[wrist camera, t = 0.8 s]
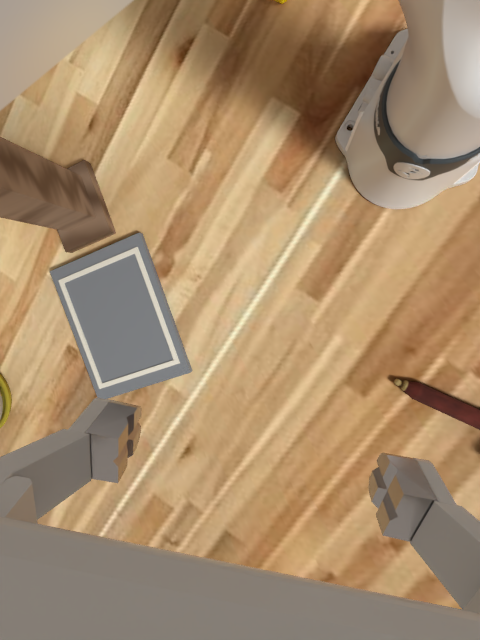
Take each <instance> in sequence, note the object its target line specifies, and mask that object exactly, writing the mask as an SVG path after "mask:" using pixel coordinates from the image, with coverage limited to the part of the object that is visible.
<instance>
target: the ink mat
mask: <svg viewBox="0 0 480 640" xmlns="http://www.w3.org/2000/svg"><path fill="white" fill-rule="evenodd" d="M50 273H51V276H52V279H53V281H54V284H55V287H56V289H57V292H58V295H59V297H60V300H61V302H62V305H63V308H64V310H65V313H66V316H67V318H68V321H69V323H70V326H71V329H72V331H73V334H74V337H75V339H76V342H77V345H78V347H79V350H80V352H81V355H82V358H83V360H84V363H85V366H86V368H87V371H88V373H89V376H90V379H91V381H92V384H93V387H94V389H95V392H96V394H97V397H98V398H103V399H107V398H111V397H114V396H117V395H120V394H123V393H126V392H130V391H133V390H136V389H139V388H142V387H146V386H149V385H152V384H155V383H158V382H162V381H165V380H168V379H171V378H174V377H178V376H181V375H184V374H187V373H190V372H191V371H192V369H191V366H190V363H189V360H188V358H187V355H186V352H185V349H184V347H183V344H182V341H181V338H180V336H179V333H178V330H177V327H176V325H175V322H174V319H173V316H172V314H171V311H170V308H169V305H168V303H167V300H166V297H165V294H164V292H163V289H162V286H161V283H160V281H159V278H158V275H157V272H156V270H155V267H154V264H153V261H152V259H151V256H150V253H149V250H148V248H147V245H146V242H145V239H144V237H143V234H142V233H137V234H135V235H132V236H130V237H128V238H126V239H123V240H121V241H119V242H116V243H114V244H112V245H109V246H107V247H105V248H103V249H100V250H98V251H96V252H93V253H91V254H89V255H87V256H84V257H82V258H80V259H77V260H75V261H73V262H70V263H68V264H66V265H64V266H61V267H59V268H57V269H54V270H52V271H50Z"/></svg>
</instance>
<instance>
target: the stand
mask: <svg viewBox="0 0 480 640" xmlns="http://www.w3.org/2000/svg"><path fill="white" fill-rule="evenodd" d="M0 217H1V218H6V219H11V220H15V221H20V222H25V223H29V224H34V225H39V226H43V227H48V228H53V229H57V230H58V233H59V236H60V238H61V241H62V243H63V246H64V249H65V251H66V252H70V253H73V252H75V251H77V250H79V249H82V248H84V247H86V246H88V245H91V244H93V243H95V242H97V241H100V240H102V239H104V238H106V237H109V236H111V235H113V234H115V233H116V232H115V229H114V226H113V224H112V221H111V218H110V215H109V213H108V210H107V207H106V205H105V202H104V199H103V196H102V194H101V191H100V188H99V185H98V183H97V180H96V177H95V175H94V172H93V169H92V166H91V164H90V163H89V162H87V161H85V160H83V161H81V162H79V163H77V164H75V165H73V166H72V167H70V168H68V169H66V168H64V167H62V166H60V165H57V164H55V163H53V162H51V161H49V160H47V159H45V158H43V157H41V156H39V155H37V154H35V153H33V152H30V151H28V150H26V149H24V148H22V147H20V146H18V145H16V144H14V143H12V142H10V141H8V140H6V139H3V138H1V137H0Z"/></svg>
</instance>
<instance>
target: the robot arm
mask: <svg viewBox="0 0 480 640" xmlns="http://www.w3.org/2000/svg"><path fill="white" fill-rule="evenodd" d="M398 1H399V3H400V5H401V8H402V11H403V13H404V16H405V20H406V23H407V28H408V29H405V30H402V31H400V32H398V33H397V34H396V36H395V37H394V39H393V40H392V42H391V43H390V45H389V47H388V48H387V50H386V52H385V53H384V55H382V56H381V57H380V59H379V61H378V63H377V65H376V67H375V69H374V71H373V73H372V75H371V77H370V78H369V80H368V82H367V83H366V85H365V87H364V88H363V90H362V92H361V93H360V95H359V97H358V98H357V100H356V102H355V103H354V105H353V107H352V108H351V110H350V112H349V113H348V115H347V117H346V118H345V120H344V122H343V123H342V125H341V127H340V128H339V130H338V132H337V134H336V137H335V141H336V144H337V146H338V147H339V149H340V150H341V152H342V153H343V154H344V156H345V157H346V160H347V164H348V170H349V174H350V177H351V180H352V182H353V184H354V186H355V187H356V189H357V190H358V191H359V192H360V193H361V195H362V196H364V197H365V198H366V199H367V200H369V201H370V202H372V203H374V204H376V205H378V206H381V207H385V208H390V209H406V208H411V207H415V206H418V205H421V204H423V203H425V202H427V201H429V200H431V199H432V198H434V197H435V196H437V195H438V194H439V193H441V192H442V191H444V190H446V189H448V188H451V187H455V186H459V185H462V184H464V183H467V182H468V181H470V180H471V179H472V178H473V177H474V176H475V175H476V172H477V169H478V165H479V163H480V0H398ZM347 127H352V130H351V131H348V130H347ZM140 418H141V407H140V406H137V405H132V404H127V403H123V402H118V401H114V400H112V401H111V400H107V399H103V398H95V399H94V400H93V401H92V402H91V403H90V404H89V405H88V407H87V408H86V409H85V410H84V411H83V413H82V414H81V415H80V416H79V417H78V418H77V420H76V421H75V422H74V423H73V424H72V426H71V427H70V428H69V429H68V430H66V429H62V430H60V431H58V432H56V433H53V434H51V435H49V436H47V437H44V438H42V439H40V440H38V441H35V442H33V443H31V444H29V445H26V446H24V447H22V448H20V449H18V450H15V451H13V452H11V453H9V454H6V455H4V456H2V457H0V640H480V521H479V520H478V519H476V518H475V517H474V516H473V515H472V514H470V513H469V512H468V511H467V510H466V509H464V508H463V507H462V506H458V505H456V503H455V501H454V500H453V498H452V496H451V494H450V493H449V491H448V489H447V488H446V486H445V484H444V482H443V481H442V479H441V477H440V476H439V474H438V472H437V470H436V469H435V467H434V465H433V464H432V463H431V462H430V461H428V460H422V459H416V458H409V457H404V456H398V455H393V454H387V453H381V454H380V455H379V457H378V459H377V463H378V466H379V467H378V468H376V469H375V470H373V471H372V473H371V476H370V478H369V494H370V498H371V501H372V502H373V503H374V505H375V506H376V507H377V508H378V511H377V513H376V517H377V520H378V523H379V526H380V529H381V532H382V535H383V536H388V537H392V538H396V539H401V540H405V541H410V544H411V545H412V546H413V547H414V549H415V550H416V551H417V553H418V554H419V555H420V556H421V558H422V559H423V560H424V561H425V563H426V564H427V565H428V566H429V568H430V569H431V570H432V571H433V573H434V574H435V575H436V577H437V578H438V579H439V580H440V582H441V583H442V584H443V585H444V587H445V588H446V589H447V590H448V592H449V593H450V594H451V595H452V597H453V598H454V599H455V601H456V602H457V603H458V604H459V606H460V607H461V608H462V609H463V610H461V609H456V608H452V607H447V606H442V605H437V604H432V603H427V602H422V601H417V600H412V599H407V598H402V597H397V596H392V595H387V594H382V593H377V592H372V591H367V590H362V589H357V588H352V587H347V586H342V585H337V584H333V583H328V582H323V581H318V580H313V579H308V578H303V577H298V576H293V575H288V574H283V573H278V572H273V571H268V570H263V569H258V568H253V567H248V566H243V565H238V564H234V563H229V562H224V561H219V560H214V559H209V558H204V557H199V556H194V555H189V554H184V553H179V552H174V551H169V550H164V549H159V548H154V547H149V546H145V545H140V544H135V543H130V542H125V541H120V540H115V539H110V538H105V537H100V536H95V535H90V534H85V533H80V532H75V531H70V530H65V529H60V528H55V527H50V526H45V525H41V524H38V523H37V520H38V519H39V518H40V517H42V516H43V515H44V514H46V513H47V512H48V511H50V510H51V509H53V508H54V507H55V506H57V505H58V504H59V503H61V502H62V501H64V500H65V499H66V498H68V497H69V496H70V495H72V494H73V493H74V492H76V491H77V490H79V489H80V488H81V487H83V486H84V485H85V484H87V483H88V482H90V481H91V479H97V480H103V481H109V482H115V483H118V482H119V480H120V479H121V477H122V475H123V473H124V471H125V469H126V467H127V458H129V457H130V456H132V455H133V454H134V452H135V450H136V448H137V445H138V442H139V438H140V433H141V426H140V424H139V423H138V421H139V419H140Z"/></svg>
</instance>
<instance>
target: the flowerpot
mask: <svg viewBox="0 0 480 640" xmlns="http://www.w3.org/2000/svg"><path fill="white" fill-rule="evenodd" d="M11 403H12V399H11V392H10V389H9V386H8V384H7V382H6V381H5V379H4V378H3V376H2V375H1V374H0V428H1V427H2V426H3V425H4V424H5V422H6V420H7V418H8V416H9V412H10V409H11Z"/></svg>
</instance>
